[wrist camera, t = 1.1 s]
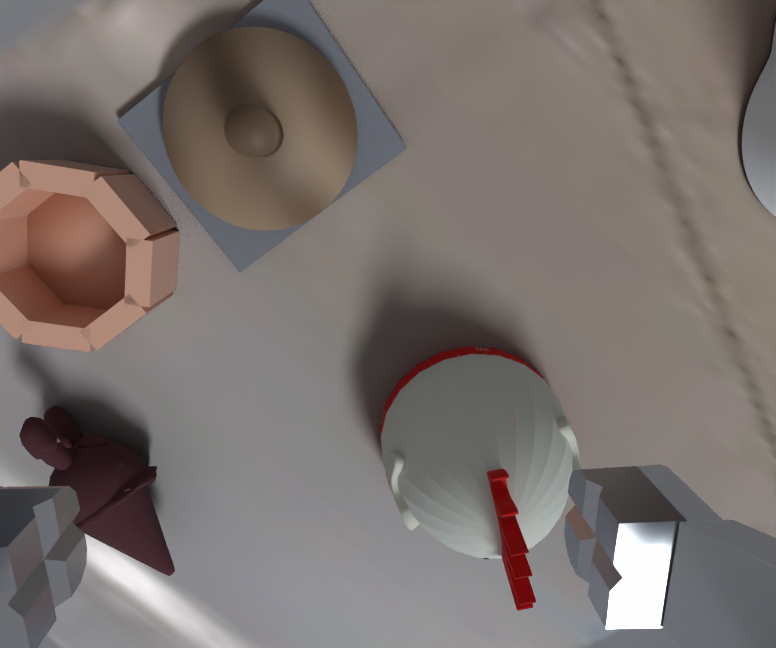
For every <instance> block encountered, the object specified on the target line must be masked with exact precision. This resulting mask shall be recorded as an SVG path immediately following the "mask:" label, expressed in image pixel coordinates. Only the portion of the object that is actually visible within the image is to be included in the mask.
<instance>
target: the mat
mask: <svg viewBox="0 0 776 648" xmlns="http://www.w3.org/2000/svg"><path fill="white" fill-rule="evenodd" d="M242 27H265V28H272V29H276V30H280V31H284V32H286V33H289V34H291V35H293V36H296V37H298V38H300V39H301V40H303V41H305V42H306V43H308V44H310V45H311V46H312V47H314V48H315V49H316V50H317V51H319V52H320V53H321V54H322V55H323V56H324V57H325V58H326V59H327V60H328V61H329V62H330V63H331V65H332V66H333V67H334V68H335V70H336V71H337V72H338V74H339V75H340V77H341V79H342V80H343V82H344V84H345V86H346V88H347V90H348V93H349V95H350V97H351V100H352V104H353V107H354V110H355V115H356V121H357V133H358V141H357V152H356V156H355V161H354V165H353V168H352V170H351V173H350V176H349V178H348V180H347V182H346V184H345V186H344V187H343V188H342V190H341V191H340V193H339V194H338V196H337V197H336V198H335V199H334V200H333V201H332V202H331V204H332V203H333V202H335V201H336V200H337V199H339V198H340V197H341V196H343V195H344V194H345V193H347V192H348V191H349V190H351V189H352V188H353V187H355V186H356V185H357V184H359V183H360V182H362V181H363V180H364V179H366V178H367V177H368V176H370V175H371V174H372V173H374V172H375V171H376V170H378V169H379V168H380V167H382V166H383V165H384V164H386V163H387V162H388V161H390V160H391V159H392V158H394V157H395V156H396V155H398V154H399V153H400V152H402V151H403V150H404V149H406V148H407V147H406V146H405V144H404V143H403V141H402V140H401V138H400V137H399V135H398V134H397V132H396V131H395V130H394V128H393V127H392V125H391V124H390V122H389V121H388V119H387V118H386V116H385V115H384V113H383V112H382V110H381V109H380V107H379V106H378V104H377V103H376V101H375V100H374V98H373V97H372V95H371V94H370V92H369V91H368V89H367V88H366V86H365V85H364V83H363V82H362V80H361V79H360V77H359V76H358V74H357V73H356V71H355V70H354V68H353V67H352V65H351V64H350V63H349V61H348V60H347V58H346V57H345V55H344V54H343V52H342V51H341V49H340V48H339V46H338V45H337V43H336V42H335V40H334V39H333V37H332V36H331V34H330V33H329V31H328V30H327V28H326V27H325V25H324V24H323V22H322V21H321V19H320V18H319V16H318V15H317V13H316V12H315V10H314V9H313V7H312V6H311V4H310V3H309V1H308V0H263V1H262V2H261V3H259V4H258V5H257V6H256V7H255V8H253V9H252V10H251V11H250V12H249V13H247V14H246V15H245V16H244V17H242V18H241V19H240V20H239V21H238V22H236V23H235V24H234V25H233V26H232V27H230V28H229V29H228V30H231V29H236V28H242ZM228 30H227V31H228ZM174 74H175V73H174ZM174 74H173V75H172V76H171V77H169V78H168V79H167V80H166V81H165V82H163V83H162V84H161V85H160V86H159V87H157V88H156V89H155V90H154V91H152V92H151V93H150V94H149V95H148V96H146V97H145V98H144V99H143V100H142V101H140V102H139V103H138V104H137V105H135V106H134V107H133V108H132V109H131V110H129V111H128V112H127V113H126V114H125V115H123V116H122V117H121V118H120V119H118V120H117V122H118V123H119V124H120V125H121V126H122V128H123V129H124V130H125V131H126V133H127V134H128V135H129V136H130V137H131V139H132V140H133V141H134V142H135V144H136V145H137V146H138V147H139V149H140V150H141V151H142V152H143V153H144V155H145V156H146V157H147V158H148V160H149V161H150V162H151V163H152V165H153V166H154V167H155V168H156V169H157V171H158V172H159V173H160V174H161V176H162V177H163V178H164V179H165V181H166V182H167V183H168V184H169V185H170V187H171V188H172V189H173V190H174V192H175V193H176V194H177V195H178V197H179V198H180V199H181V200H182V201H183V203H184V204H185V205H186V206H187V208H188V209H189V210H190V211H191V213H192V214H193V215H194V216H195V217H196V219H197V220H198V221H199V222H200V224H201V225H202V226H203V227H204V228H205V230H206V231H207V232H208V233H209V235H210V236H211V237H212V238H213V240H214V241H215V242H216V243H217V244H218V246H219V247H220V248H221V249H222V251H223V252H224V253H225V254H226V256H227V257H228V258H229V259H230V260H231V262H232V263H233V264H234V265H235V267H236V268H237V269H238V270H239V272H241V271H242V270H244V269H245V268H246V267H248V266H249V265H250V264H252V263H253V262H254V261H256V260H257V259H258V258H260V257H261V256H262V255H264V254H265V253H266V252H268V251H269V250H270V249H272V248H273V247H274V246H276V245H277V244H278V243H280V242H281V241H282V240H284V239H285V238H286V237H288V236H289V235H290V234H292V233H293V232H294V231H296V230H297V229H299V228H300V227H301V226H303V225H304V224H305V223H307V222H308V221H309V220H308V221H306V222H304V223H301V224H299V225H296V226H293V227H290V228H286V229H280V230H269V231H261V230H251V229H247V228H242V227H238V226H236V225H233V224H230V223H227V222H226V221H224V220H222V219H220V218H218V217H216V216H214V215H213V214H211V213H210V212H208V211H207V210H206V209H204V208H203V207H202V206H201V205H200V204H199V203H197V202H196V201H195V200H194V199H193V197H192V196H191V195H190V194H189V193H188V192H187V191H186V189H185V188H184V186H183V185H182V184H181V182H180V181H179V179H178V177H177V175H176V173H175V172H174V170H173V168H172V165H171V163H170V160H169V158H168V155H167V151H166V147H165V143H164V136H163V108H164V102H165V98H166V94H167V90H168V87H169V85H170V83H171V80H172V78H173V76H174ZM331 204H330V205H331ZM326 208H327V207H326ZM311 219H312V218H311ZM311 219H310V220H311Z"/></svg>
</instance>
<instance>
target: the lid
mask: <svg viewBox="0 0 776 648" xmlns="http://www.w3.org/2000/svg"><path fill="white" fill-rule="evenodd" d="M163 136H164V143H165V147H166V151H167V155H168V158H169V160H170V163H171V165H172V168H173V170H174V172H175V173H176V175H177V177H178V179H179V181H180V182H181V184H182V185H183V186H184V188H185V189H186V191H187V192H188V193H189V194H190V195H191V196H192V197H193V199H194V200H195V201H196V202H197V203H199V204H200V205H201V206H202V207H203V208H204V209H206V210H207V211H208V212H210V213H211V214H213V215H214V216H216V217H218V218H220V219H222V220H224V221H226V222H227V223H230V224H233V225H236V226H238V227H242V228H247V229H251V230H261V231H269V230H280V229H286V228H290V227H293V226H296V225H299V224H301V223H304V222H306V221H308V220H310V219H311V218H313V217H315V216H316V215H318V214H319V213H321V212H322V211H323V210H324V209H325V208H326V207H328V206H329V205H330V204H331V202H332V201H333V200H334V199H335V198H336V197H337V196H338V194H339V193H340V191H341V190H342V188H343V187H344V186H345V184H346V182H347V180H348V178H349V176H350V173H351V170H352V168H353V165H354V161H355V156H356V152H357V141H358V133H357V121H356V115H355V110H354V107H353V104H352V100H351V97H350V95H349V93H348V90H347V88H346V86H345V84H344V82H343V80H342V79H341V77H340V75H339V74H338V72H337V71H336V70H335V68H334V67H333V66H332V65H331V63H330V62H329V61H328V60H327V59H326V58H325V57H324V56H323V55H322V54H321V53H320V52H319V51H317V50H316V49H315V48H314V47H312V46H311V45H310V44H308V43H306V42H305V41H303V40H301V39H300V38H298V37H296V36H293V35H291V34H289V33H286V32H284V31H280V30H276V29H272V28H265V27H242V28H236V29H231V30H228V31H225V32H222V33H219V34H217V35H215V36H213V37H211V38H209V39H207V40H206V41H204V42H203V43H201V44H200V45H199V46H197V47H196V48H195V49H194V50H193V51H192V52H191V53H190V54H189V55H188V56H187V57H186V58H185V59H184V61H183V62H182V63H181V64H180V66H179V67H178V69H177V71H176V72H175V74H174V76H173V78H172V80H171V83H170V85H169V87H168V90H167V94H166V98H165V102H164V108H163Z"/></svg>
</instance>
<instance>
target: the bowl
mask: <svg viewBox="0 0 776 648" xmlns="http://www.w3.org/2000/svg"><path fill="white" fill-rule="evenodd" d="M175 226H177V224H176V223H175V222H174V220H173V219H172V218H171V217H170V216H169V214H168V213H167V212H166V211H165V210H164V208H163V207H162V206H161V205H160V204H159V202H158V201H157V200H156V199H155V197H154V196H153V195H152V194H151V193H150V191H149V190H148V189H147V188H146V187H145V185H144V184H143V183H142V182H141V181H140V179H139V178H138V177H137V176H136V174H129V170H123V169H117V168H110V167H104V166H98V165H92V164H86V163H80V162H74V161H68V160H19V162H11V163H10V164H9V165H8V166H6V167H5V168H4V169H3V170H2V171H1V172H0V324H1V325H2V326H3V327H4V328H5V329H6V330H7V331H8V332H9V333H10V334H11V335H12V336H13V337H14V338H15V339H17V338H19V337H21V336H22V343H28V344H35V345H42V346H50V347H57V348H64V349H71V350H79V351H86V352H91V351H93V350H94V349H96V350H98V349H100V348H101V347H102V346H104V345H105V344H107V343H108V342H110V341H111V340H112V339H114V338H115V337H117V336H118V335H119V334H121V333H122V332H124V331H125V330H126V329H128V328H129V327H130V326H132V325H133V324H134V323H136V322H137V321H138V320H140V319H141V318H142V317H144V316H145V315H146V314H148V313H149V312H150V311H152V310H153V309H154V308H156V307H157V306H158V305H160V304H161V303H162V302H164V301H165V300H166V299H168V298H169V297H170V296H172V295H173V294H172V293H171V292H173V291H174V290H176V277H177V261H178V245H179V231H175V230H172V229H173V228H174V227H175Z"/></svg>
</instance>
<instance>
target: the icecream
mask: <svg viewBox="0 0 776 648" xmlns="http://www.w3.org/2000/svg"><path fill="white" fill-rule="evenodd" d="M20 439H21V442H22V445H23V446H24V447H25V448H26V449H27V451H28V452H29V453H30V454H31V455H32V456H33V457H34V458H36V459H40V458H41V459H42V460H43V461H44V462H45V463H46V464H48V465H50V466H52V467H54V468H55V469H54V471H53V473H52V475H51V476H50V482H49V486H70V487H71V488H72V489H73V490H75V491H76V493H77V498H78V502H79V507H80V511H79V513H78V515H77V516H76V518H75V519H74V521H73V523H74V524H75V525H76V526H77V527H78V528H79V529H80V530H81V531H82V532H83V533H85V534H87V535H89V536H91V537H93V538H95V539H97V540H99V541H101V542H103V543H105V544H107V545H109V546H111V547H113V548H115V549H116V550H118V551H120V552H122V553H124V554H126V555H128V556H130V557H132V558H134V559H136V560H138V561H140V562H142V563H144V564H146V565H148V566H150V567H152V568H154V569H156V570H157V571H159V572H161V573H164V574H166V575H168V576H170V575H171V574H173V572H174V571H175V569H174V565H173V562H172V559H171V556H170V553H169V550H168V548H167V545H166V542H165V539H164V536H163V532H162V529H161V526H160V523H159V520H158V517H157V514H156V511H155V508H154V505H153V502H152V499H151V496H150V493H149V490H148V487H147V485H148V484H151V483H152V482H154V481H155V479H156V474H157V473H156V469H157V466H147V464H146V462H145V460H144V459H142V458H141V457H140V456H138V455H137V454H136V453H135V451H134V449H133V448H132V447H129V446H123V445H121V444H118V443H115V442H109V439H108V438H107V437H106V436H105V435H88V436H84V435H83V433H82V431H81V430H80V428H79V426H78V425H77V423H76V421H75V420H74V419H73V418H72V417H71V416H70V415H69V414H68V413H67V412H66V411H65V410H64V409H62V408H61V407H59V406H52V407H50V408H49V409H48V410H47V411H46V412H45V415H44V420H42V419H41V418H36V417H30V418H28V419H26V420H25V422H24V424H23V426H22V429H21V432H20Z"/></svg>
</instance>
